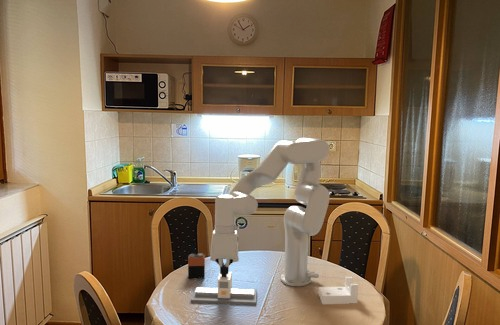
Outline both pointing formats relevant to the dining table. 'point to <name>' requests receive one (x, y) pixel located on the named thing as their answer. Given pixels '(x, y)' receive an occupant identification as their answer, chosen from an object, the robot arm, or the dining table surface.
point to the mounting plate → (224, 299)
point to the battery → (196, 266)
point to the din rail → (234, 293)
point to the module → (224, 285)
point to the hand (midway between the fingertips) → (224, 275)
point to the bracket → (339, 293)
